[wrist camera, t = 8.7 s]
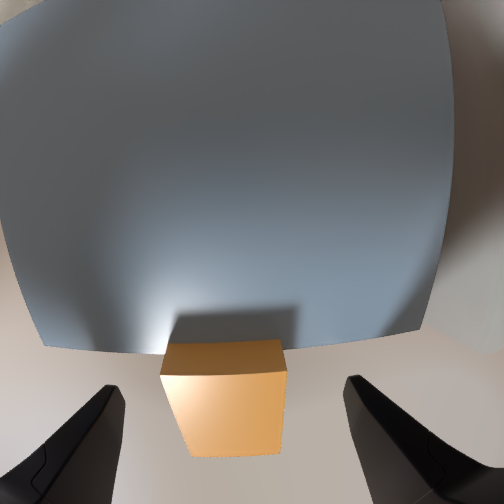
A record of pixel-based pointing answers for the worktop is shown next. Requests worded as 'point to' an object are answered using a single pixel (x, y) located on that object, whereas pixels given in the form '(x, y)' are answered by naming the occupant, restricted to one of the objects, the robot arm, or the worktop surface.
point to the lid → (225, 186)
